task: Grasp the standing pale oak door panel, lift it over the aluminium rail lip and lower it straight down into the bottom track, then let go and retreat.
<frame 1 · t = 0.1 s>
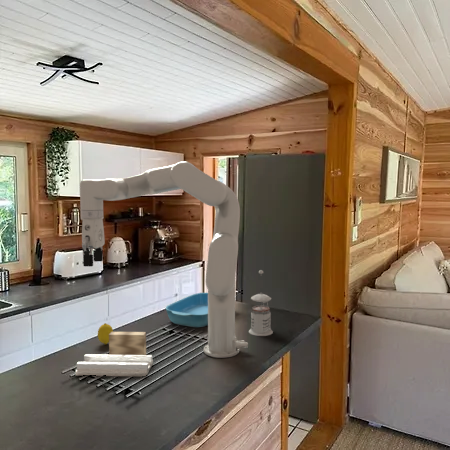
hand: (93, 263, 149), 31 cm above the worktop, tool pointing down, fingers open, 9 cm apart
door panel: (128, 355, 147), on the worktop
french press: (261, 331, 172), on the worktop
lemon: (105, 345, 157), on the worktop
casserole dish: (201, 317, 191), on the worktop
bottom track: (115, 369, 136), on the worktop
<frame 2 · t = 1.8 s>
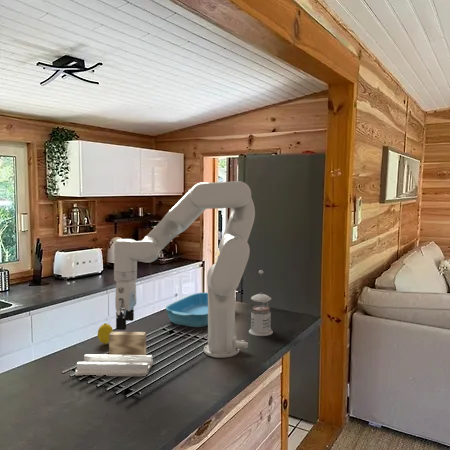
hand: (125, 324, 146), 11 cm above the worktop, tool pointing down, fingers open, 9 cm apart
nothing on the worktop moved.
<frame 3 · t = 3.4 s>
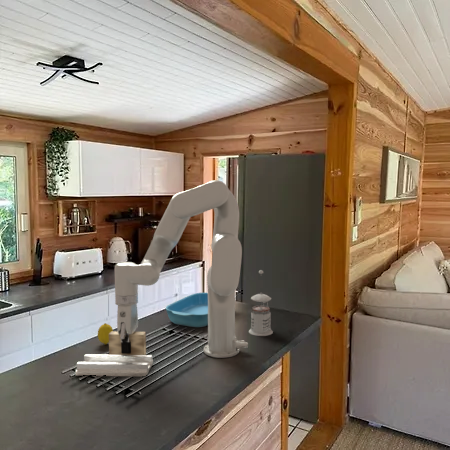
hand: (127, 350, 147), 2 cm above the worktop, tool pointing down, fingers closed on door panel, 3 cm apart
door panel: (127, 355, 147), on the worktop, touching gripper
everything else where it was.
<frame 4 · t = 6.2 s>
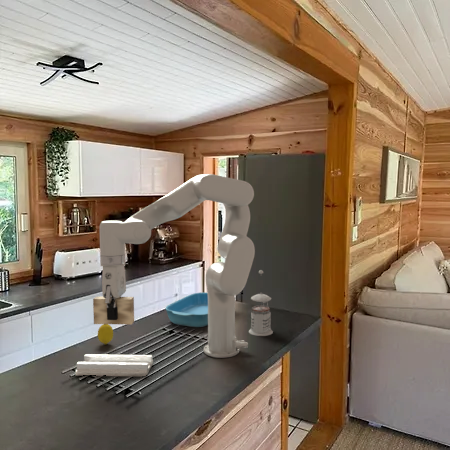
hand: (114, 317, 134), 17 cm above the worktop, tool pointing down, fingers closed on door panel, 3 cm apart
door panel: (114, 322, 135), point 15 cm above the worktop, touching gripper
everything else where it was.
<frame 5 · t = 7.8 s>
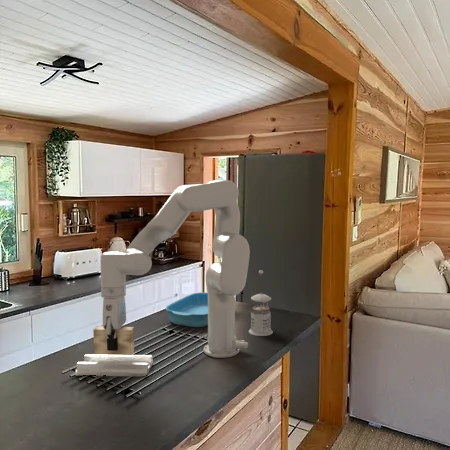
hand: (114, 347, 135), 7 cm above the worktop, tool pointing down, fingers closed on door panel, 3 cm apart
door panel: (114, 352, 135), point 5 cm above the worktop, touching gripper
everything else where it was.
when the fingers open (4 cm above the worktop, at t = 9.1 s): door panel drops 1 cm, resting on bottom track.
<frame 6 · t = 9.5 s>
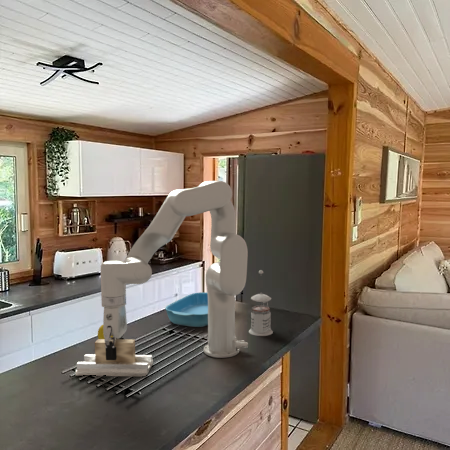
hand: (115, 354, 135), 5 cm above the worktop, tool pointing down, fingers open, 7 cm apart
door panel: (115, 365, 136), point 1 cm above the worktop, touching bottom track
everything else where it was.
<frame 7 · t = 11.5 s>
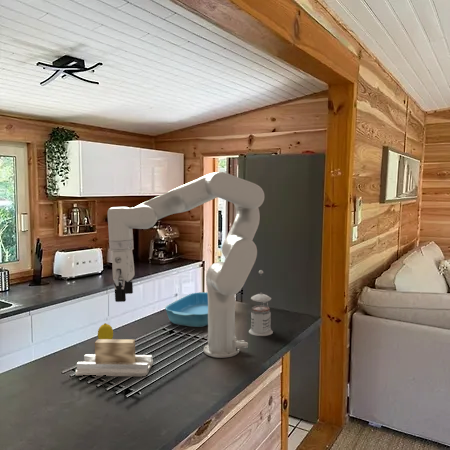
hand: (124, 297, 139), 22 cm above the worktop, tool pointing down, fingers open, 9 cm apart
nothing on the worktop moved.
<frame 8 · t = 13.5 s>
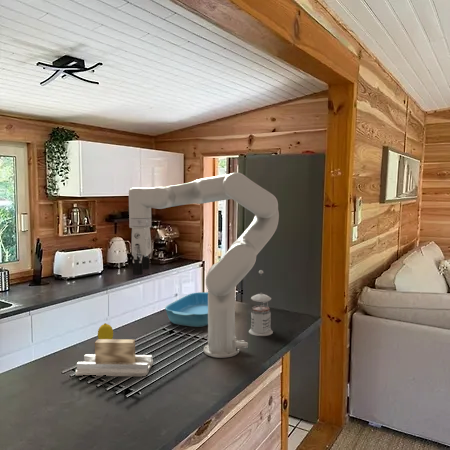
hand: (141, 271, 149), 28 cm above the worktop, tool pointing down, fingers open, 9 cm apart
at the end: door panel inside the target area on the bottom track (0.0 cm from its centre), point 1.2 cm above the bottom track's base; door panel tilted 0°; the gripper is holding nothing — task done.
